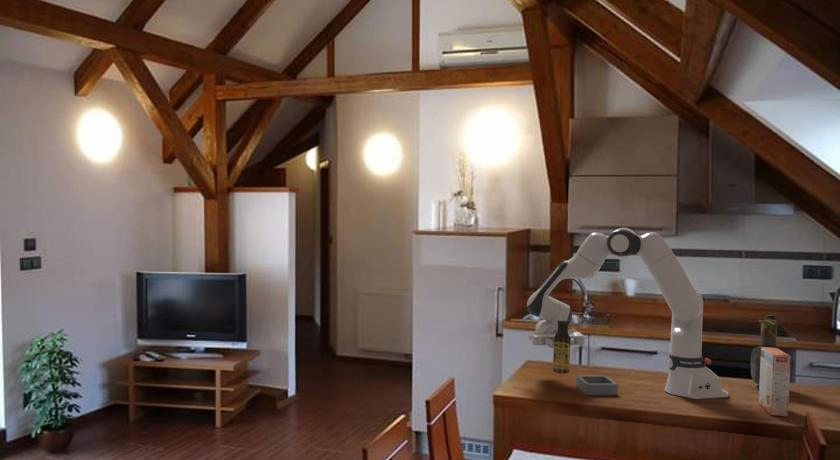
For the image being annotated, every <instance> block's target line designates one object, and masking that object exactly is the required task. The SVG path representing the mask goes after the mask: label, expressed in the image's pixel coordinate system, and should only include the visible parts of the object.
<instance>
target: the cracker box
mask: <svg viewBox="0 0 840 460" xmlns="http://www.w3.org/2000/svg"><path fill="white" fill-rule="evenodd" d="M780 349H781V348H779V349H778V347H777V348H770V347H761V360H760V385H759V384H758V385H759V390H758V405H759V406H760V407H761V408H762V409H763V410H765V412H767V413H768V414H769V416H774V417H784V418H785V417H789V401H790V380H791V363H792V362H791V357H792V356H791V355H789V354H788V353H786V352H784V351H783V350H782V349H781V350H782V351H781V350H780Z"/></svg>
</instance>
